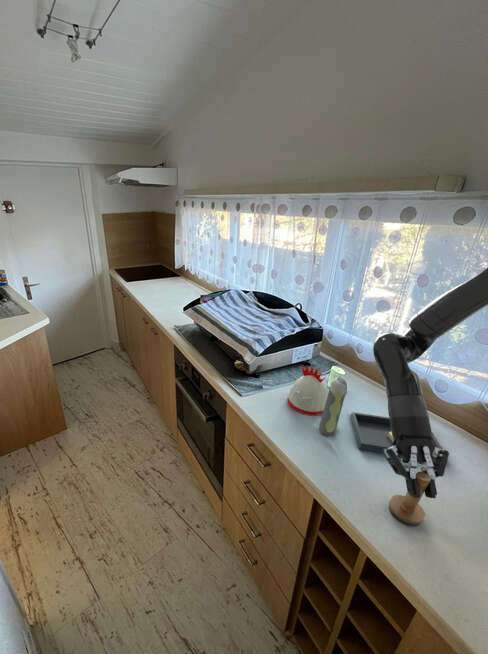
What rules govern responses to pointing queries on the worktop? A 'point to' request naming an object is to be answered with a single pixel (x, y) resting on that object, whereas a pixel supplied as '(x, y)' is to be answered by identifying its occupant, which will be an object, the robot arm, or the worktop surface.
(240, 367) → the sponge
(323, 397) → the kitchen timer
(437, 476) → the robot arm
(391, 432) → the cream flat block
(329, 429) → the grey green rod
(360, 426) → the tray
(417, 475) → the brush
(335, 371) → the light green cylinder
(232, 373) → the worktop surface
